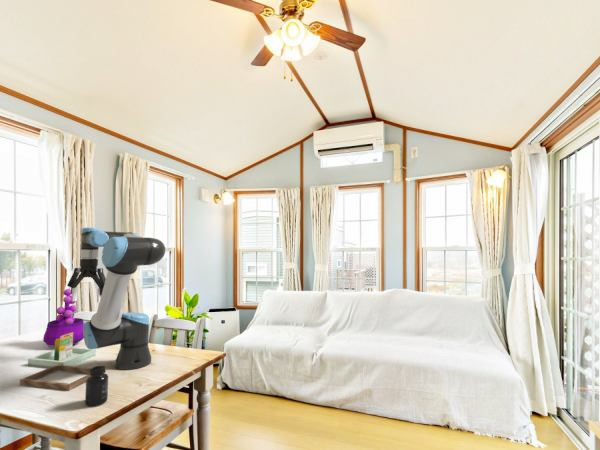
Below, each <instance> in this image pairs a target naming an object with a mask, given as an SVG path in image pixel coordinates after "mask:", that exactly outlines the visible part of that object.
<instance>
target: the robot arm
mask: <svg viewBox="0 0 600 450" xmlns="http://www.w3.org/2000/svg"><path fill="white" fill-rule="evenodd" d="M101 247H102V252H101V253H102V255H101V261H102V265H103V266H104V267H105V269H106V271H107V273H106V276H105V273H104V268H102V267H101V268H98V266H99V259H98V258H99V248H101ZM165 255H166V246H165V243H163V242H162V241H161V240H160V239H158V238H154V237H143V236H139V235H138V233H136V232H131V231H128V232H126V231H125V232H124V231H104V230H100V228H98V227H82V230H81V242H80V255H79V257H80V258H81V259H79V266H80V267H75V268H73V273H72V275H71V277H70V279H69V281H68V283H67V287H69V288H70V289H71V295H72V301H76V302H77V301H78V292H79V291H78V290H79V287H78V286H79V284H80V283H81V282H82V281H83V279H84V278H91V279H92V280H93V281H94V283H95V284H96V286H97V287H98V288H97V291H96V293H97V295H96V302H97V303H98V307H97V309H96V312H95V313H94V314H93V315H92V316H91V318H90V320H89V321H86V322H84V325H83V335H84V338H83V340H84V344H85V348H86V349H102V348H106V347H111V346H112V347H113V346H117V345H120V346H119V350H118V352H117V355H116V358H115V361H114V367H115V368H116V369H119V370H134V369H136V370H137V369H141V368H144V367H146V366H149V365H150V364H151V363H152V355H151V352H150V348H149V331H150V317H149V315H148V314H146V313H142V312H123V313H122V314H121V315H120V313H121V310H122V307H123V304H124V301H125V297H126V293H127V289H128V286H129V282H130V280H131V279H130V278H131V277H132V276H131V275H133V274H135V273H136V272H137V270H138V266H151V265H154V264H157V263H159V262H160V261H161V260H162V259H163V258H164V256H165Z"/></svg>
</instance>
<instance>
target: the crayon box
mask: <svg viewBox="0 0 600 450" xmlns="http://www.w3.org/2000/svg"><path fill="white" fill-rule="evenodd" d="M66 335H70V336H66ZM66 335H62V336H60V339H56V340H55V346H54V350H55V351H54V360H56V361H61V360H64V359H66V358H69V357H72V347H73V345H74V344H73V332H72V333H69V334H66ZM64 336H66V337H64Z"/></svg>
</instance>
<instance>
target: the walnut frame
mask: <svg viewBox="0 0 600 450" xmlns="http://www.w3.org/2000/svg"><path fill="white" fill-rule="evenodd" d="M91 368H92V367H82V366H74V365H72V366H65V365H56V366H53V367H51V368H45V369H43V370H41V371H39V372H36V373H34V374H31V375H28V376H26V377H23V378H21V379H19V385H20V386H25V387H26V386H27V387H33V388H34V387H35V388H36V387H37V388H44V389H52V390H60V391H61V390H62V391H72V390H73V389H76V388H78V387H80V386H81V385H83V384H86V380H87V378H88V377H89V376H90V375H89V373H90V369H91ZM57 371H58V372H64V373H65V372H67V373H76V374H86V375H84V376H83V377H82V376H81V378H79V379H76V380H75V381H72V382H70V383H66V382H59V381H50V380H40V378H43V377H45V376H48V375H50V374H53V373H54V372H57Z"/></svg>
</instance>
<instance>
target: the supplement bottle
mask: <svg viewBox="0 0 600 450" xmlns="http://www.w3.org/2000/svg"><path fill="white" fill-rule="evenodd" d="M90 368H91V369H90V373H89V374H88V375H90V376H89V377H88V378H87V380H86V382H85V392H84V393H85V394H84V395H85V398H84V399H85V400H84V401H85V402H84V404H85V406H86V407H90V408H92V407H95V408H96V407H99V406H102V405H104V404H105V403H106V402H107V401H108V399H109V398H108V397H109V396H108V395H109V374H107V373H106V372H107V371H106V366H105V365H97V366H92V367H90Z"/></svg>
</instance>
